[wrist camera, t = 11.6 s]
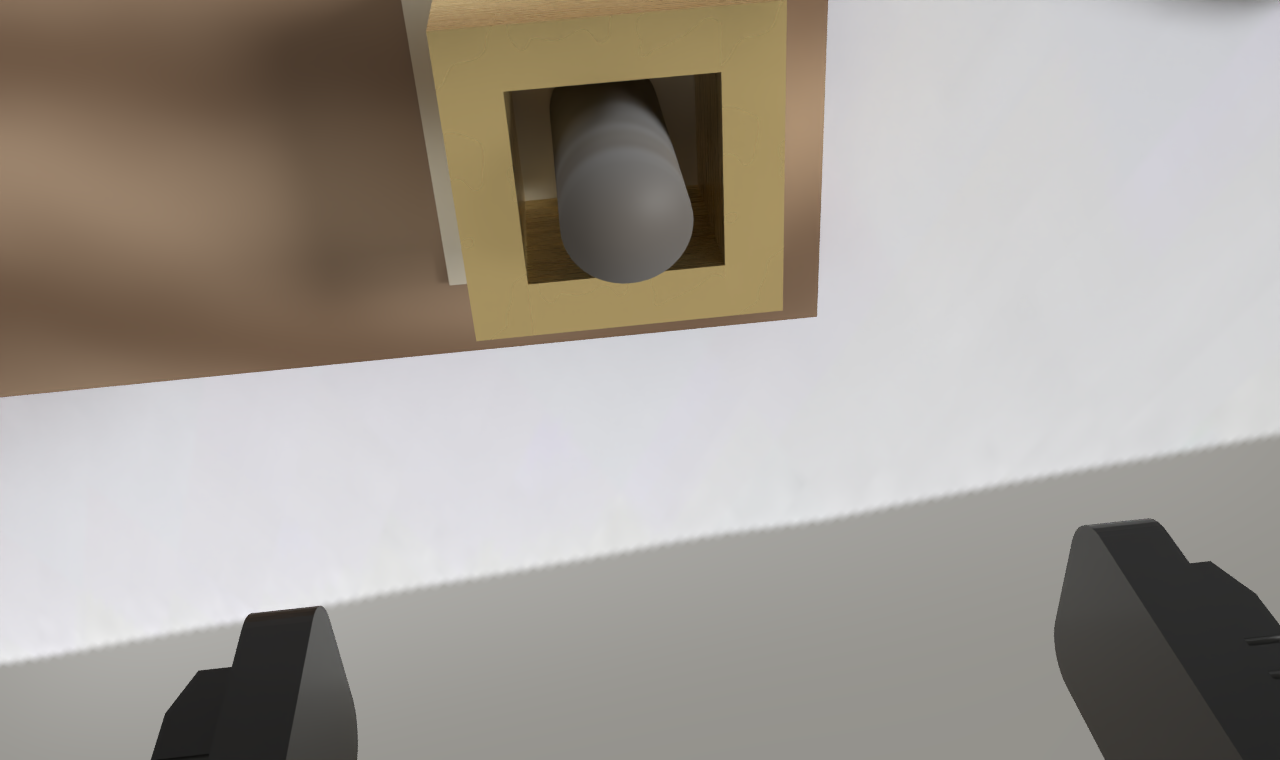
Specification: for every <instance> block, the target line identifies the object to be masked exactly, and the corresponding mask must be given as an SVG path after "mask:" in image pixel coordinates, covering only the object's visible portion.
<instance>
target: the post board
mask: <svg viewBox="0 0 1280 760" xmlns="http://www.w3.org/2000/svg"><path fill="white" fill-rule="evenodd" d="M431 4H432V0H0V397H8V396H18V395H28V394H39V393H49V392H59V391H69V390H79V389H89V388H99V387H109V386H119V385H130V384H140V383H150V382H160V381H170V380H180V379H190V378H200V377H210V376H221V375H231V374H241V373H251V372H261V371H271V370H281V369H291V368H302V367H312V366H322V365H332V364H342V363H352V362H362V361H372V360H382V359H393V358H403V357H413V356H423V355H433V354H443V353H453V352H463V351H473V350H484V349H494V348H504V347H514V346H524V345H534V344H544V343H554V342H564V341H575V340H585V339H595V338H605V337H615V336H625V335H635V334H645V333H656V332H666V331H676V330H686V329H696V328H706V327H716V326H726V325H736V324H747V323H757V322H767V321H777V320H787V319H797V318H807V317H817V299H818V270H819V242H820V213H821V185H822V156H823V128H824V99H825V71H826V42H827V14H828V0H787V32H786V107H785V183H784V258H783V311H773V312H763V313H753V314H743V315H733V316H723V317H713V318H703V319H693V320H683V321H673V322H663V323H653V324H643V325H633V326H623V327H613V328H603V329H593V330H583V331H573V332H563V333H553V334H543V335H534V336H524V337H514V338H504V339H494V340H484V341H476V336H475V330H474V324H473V317H472V311H471V305H470V299H469V293H468V287H467V280H466V274H465V268H464V262H463V256H462V250H461V244H460V237H459V231H458V225H457V219H456V213H455V207H454V200H453V194H452V188H451V182H450V176H449V170H448V163H447V157H446V151H445V145H444V139H443V133H442V127H441V120H440V114H439V108H438V102H437V96H436V90H435V83H434V77H433V71H432V65H431V59H430V53H429V46H428V40H427V34H426V29H427V24H428V19H429V14H430V9H431ZM512 99H513V107H514V115H515V123H516V131H517V139H518V147H519V155H520V163H521V171H522V179H523V187H524V195H525V201H530V200H540V199H551V198H557V201H558V212H559V224H560V233H561V239H562V242H563V245H564V247H565V249H566V251H567V253H568V255H569V256H570V258H571V259H572V260H573V261H574V262H575V264H576V265H577V266H578V267H580V268H581V269H582V270H583V271H585V272H586V273H588V274H589V275H591V276H593V277H595V278H597V279H600V280H603V281H607V282H612V283H621V284H626V283H636V282H641V281H645V280H648V279H651V278H653V277H656V276H657V275H659V274H661V273H663V272H664V271H666V270H667V269H669V268H670V267H671V266H672V265H673V264H674V263H675V262H676V261H677V260H678V259H679V258H680V257H681V255H682V254H683V252H684V251H685V249H686V247H687V245H688V243H689V241H690V238H691V235H692V230H693V210H692V206H691V202H690V199H689V196H688V193H687V190H686V186H688V185H698V181H697V150H696V119H695V88H694V75H683V76H672V77H661V78H650V79H639V80H628V81H617V82H605V83H594V84H583V85H572V86H561V87H550V88H539V89H528V90H517V91H512Z"/></svg>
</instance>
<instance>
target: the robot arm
mask: <svg viewBox="0 0 1280 760" xmlns="http://www.w3.org/2000/svg"><path fill="white" fill-rule="evenodd" d="M1054 642H1055V650H1056V656H1057V660H1058V665H1059V668H1060V671H1061V674H1062V677H1063V680H1064V682H1065V684H1066V686H1067V688H1068V690H1069V692H1070V694H1071V696H1072V697H1073V699H1074V701H1075V703H1076V705H1077V707H1078V709H1079V711H1080V713H1081V715H1082V717H1083V718H1084V720H1085V722H1086V724H1087V726H1088V728H1089V730H1090V732H1091V734H1092V736H1093V737H1094V739H1095V741H1096V743H1097V745H1098V747H1099V749H1100V751H1101V753H1102V755H1103V757H1104V758H1105V760H1280V625H1279V623H1278V622H1277V621H1276V620H1275V618H1274V617H1273V616H1272V614H1271V613H1270V612H1269V611H1268V609H1267V608H1266V607H1265V605H1264V604H1263V603H1262V601H1261V600H1260V599H1259V597H1258V596H1257V595H1256V594H1255V593H1254V592H1253V591H1251V590H1250V589H1248V588H1247V587H1246V586H1244V585H1243V584H1241V583H1240V582H1238V581H1237V580H1236V579H1234V578H1233V577H1232V576H1230V575H1229V574H1227V573H1226V572H1225V571H1223V570H1222V569H1220V568H1219V567H1218V566H1216V565H1215V564H1213V563H1212V562H1211V561H1208V562H1199V563H1189V562H1188V561H1187V559H1186V558H1185V556H1184V555H1183V554H1182V552H1181V551H1180V549H1179V548H1178V547H1177V545H1176V544H1175V542H1174V541H1173V539H1172V538H1171V537H1170V535H1169V534H1168V533H1167V531H1166V530H1165V529H1164V527H1163V526H1162V525H1160V523H1158V522H1157V521H1155V520H1154V519H1149V518H1148V519H1139V520H1130V521H1121V522H1112V523H1103V524H1093V525H1084V526H1081V527H1079V528H1078V529H1077V531H1076V532H1075V534H1074V536H1073V540H1072V544H1071V549H1070V554H1069V559H1068V563H1067V568H1066V573H1065V578H1064V582H1063V587H1062V592H1061V597H1060V602H1059V606H1058V611H1057V616H1056V621H1055V627H1054ZM357 752H358V735H357V721H356V713H355V707H354V702H353V698H352V695H351V691H350V688H349V684H348V681H347V678H346V674H345V671H344V667H343V664H342V661H341V657H340V654H339V650H338V647H337V643H336V640H335V636H334V633H333V630H332V626H331V623H330V619H329V616H328V614H327V612H326V610H325V608H324V607H322V606H315V607H306V608H297V609H288V610H278V611H269V612H260V613H251V614H249V615H248V616H247V618H246V619H245V621H244V624H243V627H242V630H241V634H240V638H239V642H238V646H237V649H236V654H235V657H234V661H233V665H232V667H228V668H219V669H210V670H201V671H198V672H197V673H196V675H195V676H194V677H193V679H192V680H191V681H190V682H189V684H188V685H187V686H186V688H185V689H184V690H183V691H182V693H181V694H180V695H179V697H178V698H177V699H176V700H175V702H174V703H173V704H172V706H171V707H170V708H169V710H168V711H167V712H166V713H165V716H164V719H163V723H162V726H161V729H160V732H159V735H158V739H157V742H156V745H155V748H154V751H153V755H152V758H151V760H357Z"/></svg>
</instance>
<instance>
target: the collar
mask: <svg viewBox="0 0 1280 760" xmlns="http://www.w3.org/2000/svg"><path fill="white" fill-rule="evenodd" d="M786 32H787V0H432V4H431V9H430V14H429V19H428V24H427V29H426V34H427V40H428V46H429V53H430V59H431V65H432V71H433V77H434V83H435V90H436V96H437V102H438V108H439V114H440V120H441V127H442V133H443V139H444V145H445V151H446V157H447V163H448V170H449V176H450V182H451V188H452V194H453V200H454V207H455V213H456V219H457V225H458V231H459V237H460V244H461V250H462V256H463V262H464V268H465V274H466V280H467V287H468V293H469V299H470V305H471V311H472V317H473V324H474V330H475V336H476V341H484V340H494V339H504V338H514V337H524V336H534V335H543V334H553V333H563V332H573V331H583V330H593V329H603V328H613V327H623V326H633V325H643V324H653V323H663V322H673V321H683V320H693V319H703V318H713V317H723V316H733V315H743V314H753V313H763V312H773V311H783V258H784V183H785V107H786ZM683 75H694V88H695V119H696V150H697V181H698V185H688V186H686V190H687V193H688V196H689V199H690V202H691V206H692V210H693V230H692V235H691V238H690V241H689V243H688V245H687V247H686V249H685V251H684V252H683V254H682V255H681V257H680V258H679V259H678V260H677V261H676V262H675V263H674V264H673V265H672V266H671V267H670V268H669V269H667V270H666V271H664V272H663V273H661V274H659V275H657V276H656V277H653V278H651V279H648V280H645V281H641V282H636V283H626V284H621V283H612V282H607V281H603V280H600V279H597V278H595V277H593V276H591V275H589V274H588V273H586V272H585V271H583V270H582V269H581V268H580V267H578V266H577V265H576V264H575V262H574V261H573V260H572V259H571V258H570V256H569V255H568V253H567V251H566V249H565V247H564V245H563V242H562V239H561V233H560V224H559V212H558V201H557V198H551V199H540V200H530V201H525V195H524V187H523V179H522V171H521V163H520V155H519V147H518V139H517V131H516V123H515V115H514V107H513V99H512V91H517V90H528V89H539V88H550V87H561V86H572V85H583V84H594V83H605V82H617V81H628V80H639V79H650V78H661V77H672V76H683Z"/></svg>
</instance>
